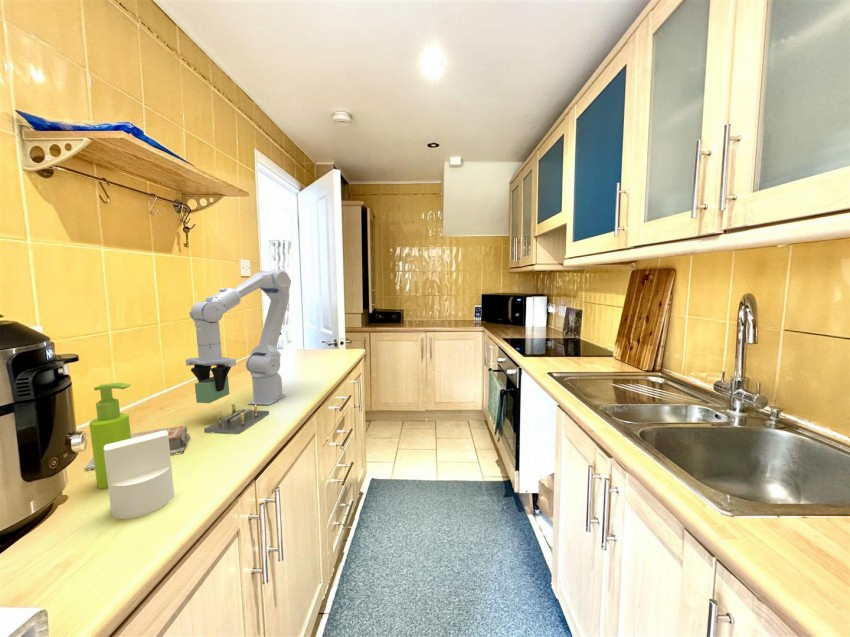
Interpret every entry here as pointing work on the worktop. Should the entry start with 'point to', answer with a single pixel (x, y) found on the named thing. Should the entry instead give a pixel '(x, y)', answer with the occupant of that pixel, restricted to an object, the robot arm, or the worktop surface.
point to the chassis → (236, 420)
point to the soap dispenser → (107, 428)
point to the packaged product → (176, 441)
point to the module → (210, 390)
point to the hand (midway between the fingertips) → (213, 390)
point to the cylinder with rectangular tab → (139, 475)
